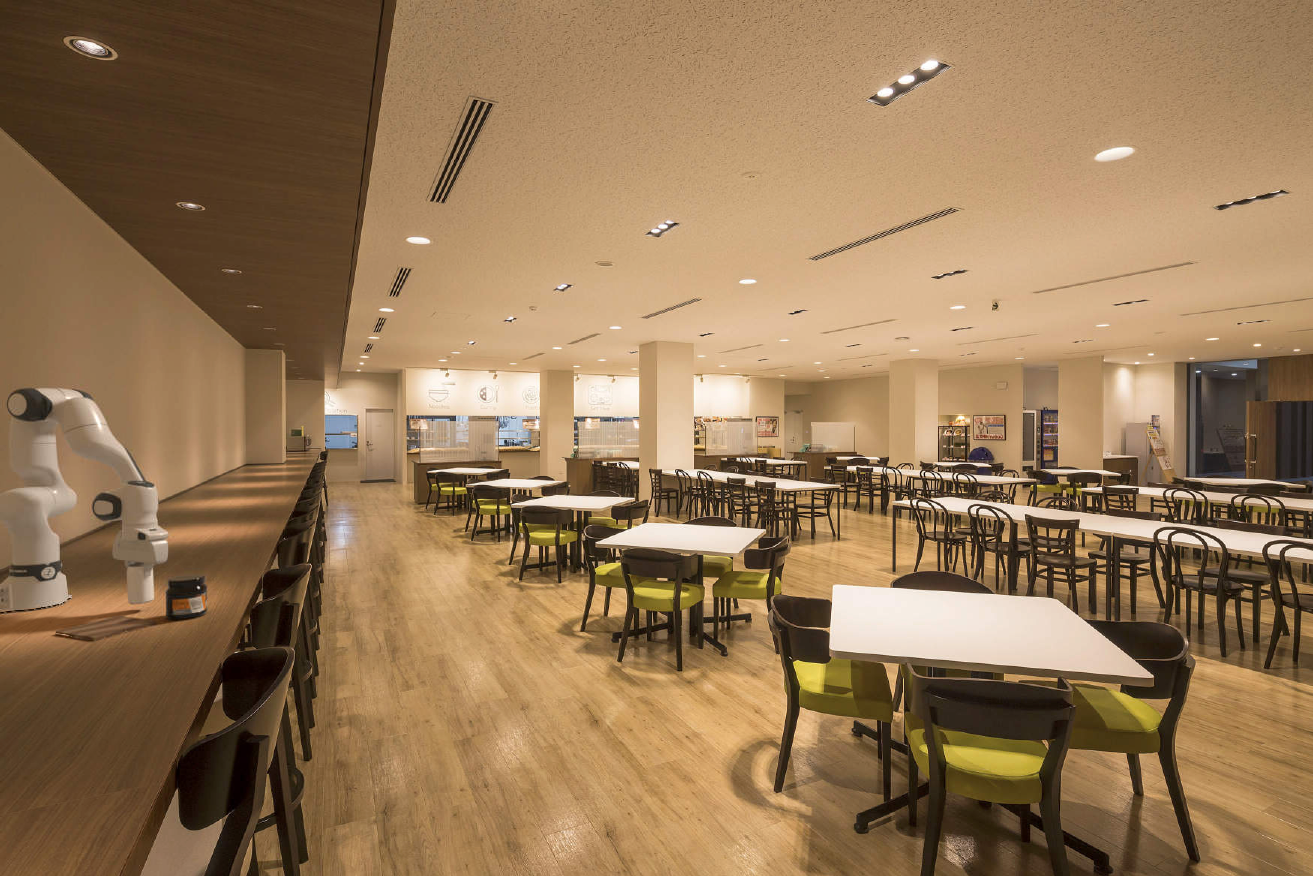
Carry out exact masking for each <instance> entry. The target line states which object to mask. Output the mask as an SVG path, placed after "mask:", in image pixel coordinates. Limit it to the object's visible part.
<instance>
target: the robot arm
mask: <svg viewBox="0 0 1313 876" xmlns="http://www.w3.org/2000/svg"><path fill="white" fill-rule="evenodd" d="M6 408H7V410H8V413H9V414H10V415H11V416H12V417H11V420H10V424H9V430H8V431H9V432H8V448H9V449H8V452H9V453H8V454H9V467H10V469H11V471H13V473H15V474H17V475H18V476H19V477H20V480H21V481H22V483H23V487H17V488H12V489H10V490H9V489H8V490H6V491H4V492H1V493H0V522H1V523H2V524H3V525H4V526H5V528H6V530H7V532H8V534H9V536H10V540H11V545H12V546H11V551H12V564H11V565H9V567H8V569H9V572H8V577H7V578H6V579H4V581H2V582H1V583H0V611H5V610H22V609H23V610H24V609H31V608H38V607H46V608H48V607H47V606H51V607H53V606H52V605H55V604H59V605H62V604H64V603H63V602H64V601H66V602H68V600H67V599H68V598H71V599H73V597H72V596H73V595H72V594H68V585H67V584H68V583H67V577H66V575H65V574H64V573H62V572H61V571H62V570H63V568H62V567H63V563H62V559H61V558H60V555H61V553H60V552H61V551H60V549H61V548H60V536H59V534H57V533H56V532H53V530H52V529H51V527H50V525H49V521H48V519H49V518H56V517H59V516H61V515H63V514H65V513H68V512H70V511H72V510H73V509H74V508H75V507H76V505H77V503H78V496H77V494H76V492H75V491H74V490H73V488H71V487H70V486H68V485H67V483H66V481H65V479H64V478H63V476H62V474H61V473H62V472H61V471H60V468H59V460H58V452H57V451H58V450H57V438H56V437H57V435H56V429H57V427H58V426H60V428H61V432H62V434H63V436H64V440H65V442H66V444H67V446H68V448H69V449H70V450H71V451H72V452H73V453H74V454H75V455H76V456H78V457H81V458H83V459H86V460H91V461H96V462H99V463H101V464H104V465H106V466H108V467H110V468H111V469H112V470H113V471H114V472H115V474H116V475H117V476H118V479H119V481H120V482H121V484H122V486H120V487H117V488H114V489H111V490H108V491H104V492H100V493H99V494H97V495H96V496H95V497H94V499H93V501H92V505H91V510H92V513H93V515H94V516H95V517H96V518H97V519H99V520H100V521H101V522H102V521H103V522H115V521H122V522H121V530H119V531H118V533H117V534H116V537H115V538H114V539H113V540H114V541H113V545H112V557H113V560H118V561H119V560H120V561H124V566H125V568H126V570H127V569H128V567H129V566H128V565H130V564H134V563H144V566H145V569H144V577H149V576H151V570H152V568H153V569H154V566H155V565H160V564H165V563H166V561H167V560H168V555H169V543H168V540H167V539H169V537H170V536H169V532H168V530H165V529H164V528H162V527H161V526H160V525H159V523H158V521H159V520H158V518H157V513H158V510H159V506H160V498H159V494H158V488H157V485H155V484H154V483H153V482H150V481H147V480H146V478H145V476H144V474H143V473H142V471H141V469H140V468H139V466H138V465H137V462H136V461H135V459H134V457H133V456H132V454H131V452H130V451H129V450H128V449H127V448H126V446H124V445H123V444H121V442H119V441H118V440H117V439H116V437H115V436H114V434H113V433H112V431H111V430H110V427H109V425H108V422H107V421H106V418H105V416H104V414H103V413H102V410H101V409H100V407H99V406H98V405H97V403H96V402H95V400H94V399H93V397H92V395H91V394H89V393H87V392H86V391H83V390H80V389H75V388H73V389H69V388H62V387H39V388H33V387H23V388H19V389H16V390H13V391H12V392H10V394H9V396H8V398H7V401H6ZM61 603H62V604H61Z"/></svg>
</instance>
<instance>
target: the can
mask: <svg viewBox="0 0 1313 876" xmlns="http://www.w3.org/2000/svg"><path fill="white" fill-rule="evenodd" d="M128 566H129V567H128V569H127V568H126V587H127V602H128V604H130V605H143V604H146V603H149V602H152V601H153V600H154V599H155V586H154V567H153V568H152V570H151V576H149V577H144V569H145V566H144V563H140V562H135V563H134V564H130V565H128Z"/></svg>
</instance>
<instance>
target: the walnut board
mask: <svg viewBox="0 0 1313 876" xmlns="http://www.w3.org/2000/svg"><path fill="white" fill-rule="evenodd" d="M154 624H155V625H157V620H153V619H152V620H151V619H146V618H140V617H139V618H138V617H131V616H125V615H116V616H112V617H108V618H103V619H101V620H99V619H98V620H96V621H92V622H87V623H84V624H80V625H75V626H71V627H68V628H64V629H59V630H56V631H55V634H56V633H59V634H66V635H69V636H72V637H78V638H81V639H80V640H85V641H90V640H92V642H96V641H99V640H103V638H104V637H107V638H110V637H109V636H111V637H113V636H112V635H115V634H118V635H121V634H120V633H122V632H125V631H129V632H132V631H131V630H133V629H137V628H140V629H143V628H142V627H144V628H146V627H145V626H148V625H151V626H154ZM148 627H149V626H148ZM137 630H138V629H137ZM133 631H134V630H133ZM122 634H123V633H122ZM115 636H116V635H115ZM72 637H71V638H72ZM78 638H77V639H78ZM104 639H105V638H104ZM95 640H96V641H95Z"/></svg>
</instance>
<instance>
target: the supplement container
mask: <svg viewBox="0 0 1313 876" xmlns="http://www.w3.org/2000/svg"><path fill="white" fill-rule="evenodd" d="M166 585H167V588H166V589H165V591H164V593H165V594H164V595H165V617H166V618H167V619H168V620H170V619H172V621H179V620H178V619H185V620H190V619H191V618H192V619H195V617H196V618H199V617H201V616H203V615H205V614H207V612H208V585H207V584H206V575H205V574H200V573H194V574H193V573H192V574H191V573H190V574H184V575H183V574H182V575H176V576H173V577H169V578H168V579H167V584H166ZM198 616H199V617H198Z"/></svg>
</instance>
